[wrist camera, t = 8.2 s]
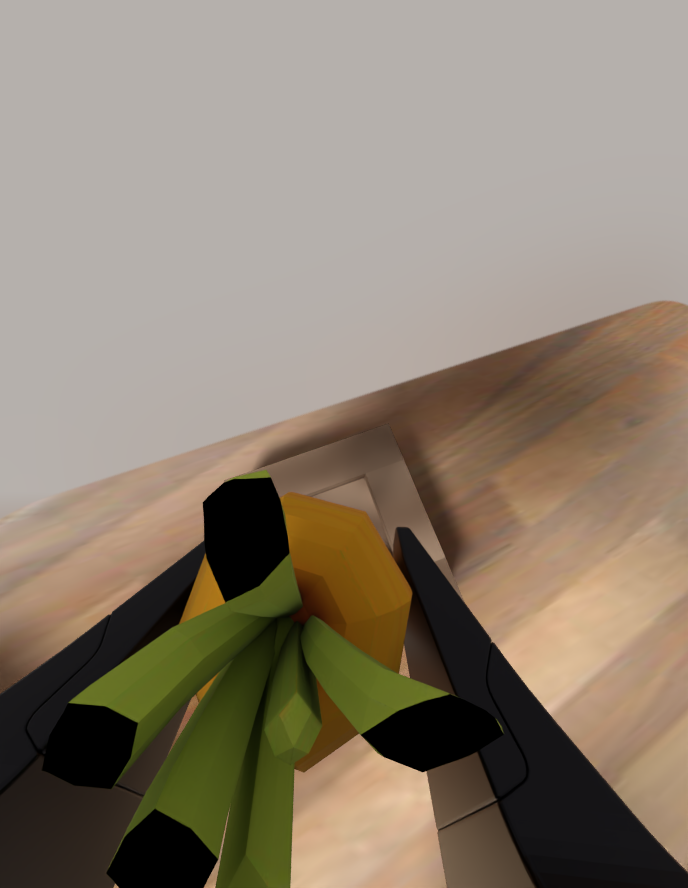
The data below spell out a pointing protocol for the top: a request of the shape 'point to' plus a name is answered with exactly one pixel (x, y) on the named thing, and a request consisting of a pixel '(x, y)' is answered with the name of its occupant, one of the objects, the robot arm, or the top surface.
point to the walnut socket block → (363, 486)
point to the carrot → (260, 691)
